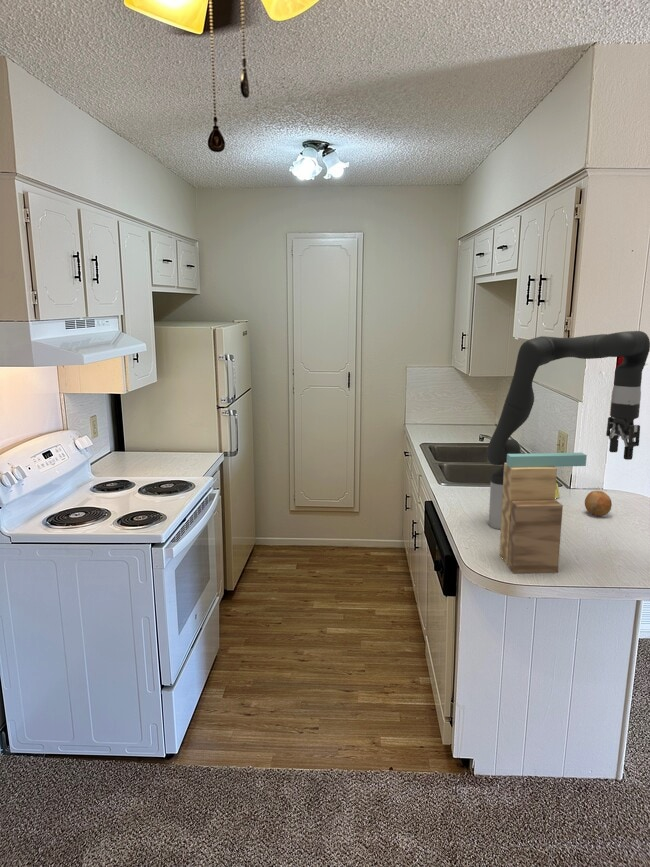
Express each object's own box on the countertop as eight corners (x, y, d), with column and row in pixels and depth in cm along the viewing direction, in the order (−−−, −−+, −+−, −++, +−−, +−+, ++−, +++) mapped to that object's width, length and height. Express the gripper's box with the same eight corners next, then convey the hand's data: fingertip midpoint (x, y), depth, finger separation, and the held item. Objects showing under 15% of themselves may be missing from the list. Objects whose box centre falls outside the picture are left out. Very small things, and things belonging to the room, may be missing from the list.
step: (508, 566, 191) (511, 501, 186) (551, 565, 191) (556, 500, 186) (513, 573, 186) (517, 506, 181) (557, 572, 186) (562, 505, 181)
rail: (506, 464, 190) (507, 453, 190) (580, 463, 191) (581, 452, 190) (509, 467, 187) (510, 456, 186) (585, 466, 187) (586, 455, 187)
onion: (611, 513, 238) (613, 489, 235) (610, 520, 229) (612, 496, 227) (584, 509, 242) (586, 485, 240) (582, 517, 233) (584, 492, 231)
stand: (499, 555, 199) (504, 462, 193) (540, 554, 200) (547, 461, 193) (507, 565, 192) (512, 469, 185) (550, 564, 192) (557, 468, 185)
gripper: (601, 397, 179) (596, 450, 182) (625, 405, 165) (619, 462, 168) (625, 397, 179) (620, 449, 182) (652, 405, 165) (646, 461, 168)
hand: (620, 455), depth 175 cm, fingers open, 8 cm apart
